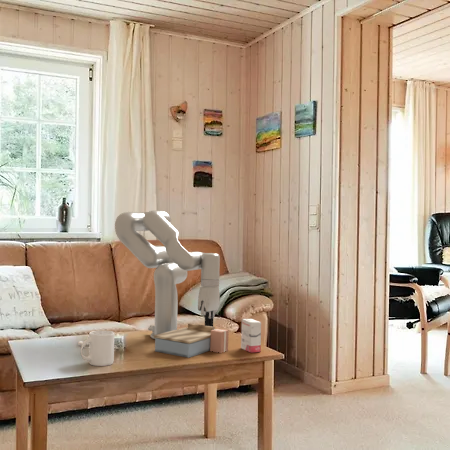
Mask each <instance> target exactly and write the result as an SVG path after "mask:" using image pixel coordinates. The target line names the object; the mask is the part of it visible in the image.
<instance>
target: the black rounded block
mask: <svg viewBox="0 0 450 450" xmlns="http://www.w3.org/2000/svg"><path fill="white" fill-rule="evenodd" d="M88 338H89V335H87V339H88ZM84 341H85V340H84ZM84 341H82V340H80V341H78V343H77V345H78V346H80V347H82V344H83V343H84ZM83 348H85V349H86V348H88V349H89V343H88V344H86V345H85V346H84V347H83Z"/></svg>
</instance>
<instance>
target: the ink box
mask: <svg viewBox="0 0 450 450" xmlns="http://www.w3.org/2000/svg"><path fill="white" fill-rule="evenodd" d="M240 336H241V337H240V349H242V350H244V351H246V352H248V353H250V354H251V353H260V352H261V347H262V346H261V345H262V344H261V343H262V340H261V339H262V321H259V320H255V319H254V318H242V319H241V335H240Z"/></svg>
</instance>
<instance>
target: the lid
mask: <svg viewBox="0 0 450 450" xmlns="http://www.w3.org/2000/svg"><path fill="white" fill-rule="evenodd" d="M214 329H216V327H215V326H213V327H212V326H205V324H204V325H203V324H198V323H197V324H196V323H191V322H190V323H187V327H182V328H177V330H173V331H169V332H165V333H162V334H158V335H154V338H160V339H166V340H171V341H177V342H183V343H188V344H190V343H193V342H197V341H200V340H203V339H207V338H210V337H211V330H214Z"/></svg>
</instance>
